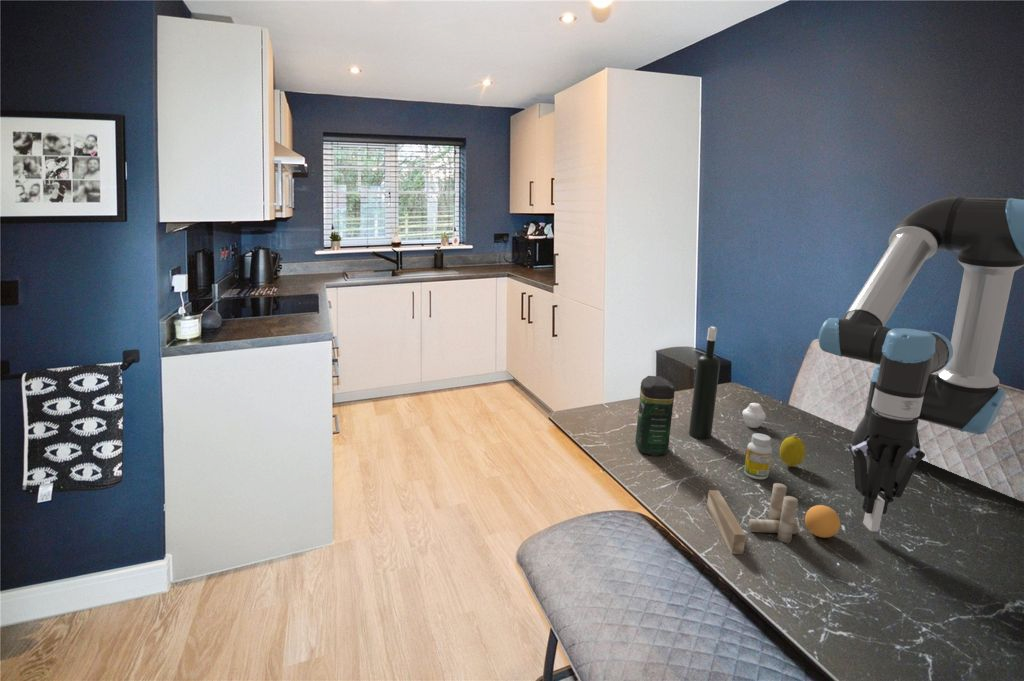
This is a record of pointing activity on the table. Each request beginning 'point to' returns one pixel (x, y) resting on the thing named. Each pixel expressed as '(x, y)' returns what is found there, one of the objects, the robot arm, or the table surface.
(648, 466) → the table surface
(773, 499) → the back pin right
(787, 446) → the lemon
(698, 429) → the wine bottle
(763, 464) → the supplement bottle
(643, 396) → the coffee jar
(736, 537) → the back wall
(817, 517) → the ball
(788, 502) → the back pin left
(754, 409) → the white tapered rounded part
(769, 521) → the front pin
